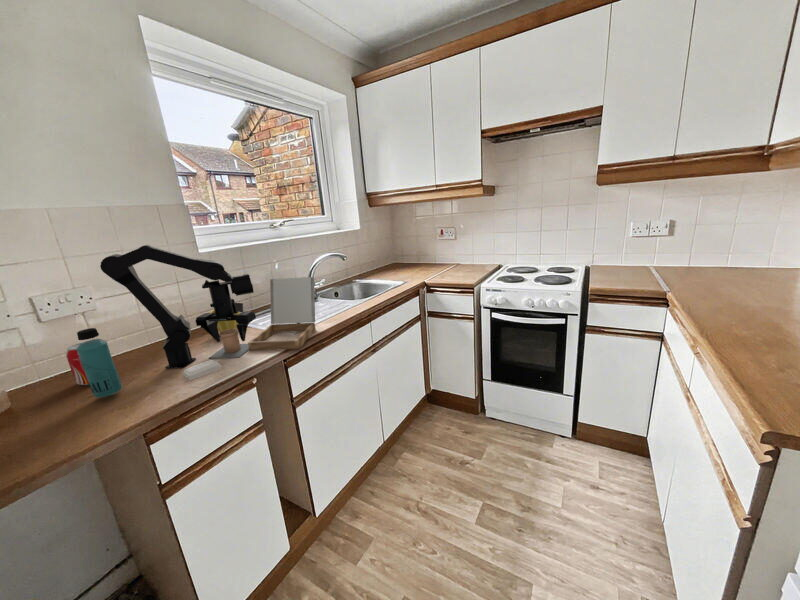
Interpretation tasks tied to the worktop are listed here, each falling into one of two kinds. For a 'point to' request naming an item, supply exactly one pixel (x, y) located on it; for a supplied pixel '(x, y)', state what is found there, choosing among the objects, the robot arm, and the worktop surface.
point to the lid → (292, 300)
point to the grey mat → (237, 354)
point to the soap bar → (201, 369)
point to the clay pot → (230, 340)
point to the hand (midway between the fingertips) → (231, 341)
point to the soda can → (76, 365)
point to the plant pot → (226, 324)
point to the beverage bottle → (98, 364)
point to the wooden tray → (260, 344)
